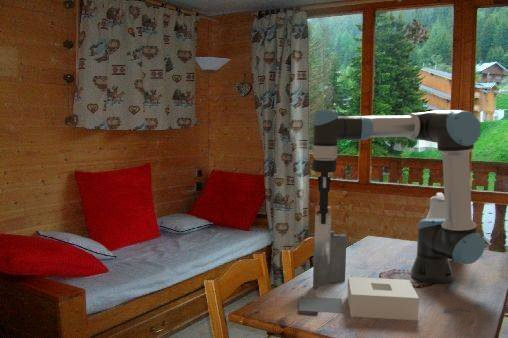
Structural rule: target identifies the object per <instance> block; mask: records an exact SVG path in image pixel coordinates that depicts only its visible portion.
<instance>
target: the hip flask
mask: <svg viewBox="0 0 508 338" xmlns="http://www.w3.org/2000/svg"><path fill="white" fill-rule="evenodd" d="M314 245H315V239H314V240H313V246H314ZM346 260H347V235H346V233H345V234H344V233H341V234H336V233H335V230H331V235H330V263H329V264H325V265H321V264H316V263H314V262H313V267H312V268H313V269H312V270H313V271H312V274H313V275H312V276H313V277H312V288H314V289H315V290H318V288H319V287H322V286H324V285H326V284H327V285H328V284H329V285H331V284H337V283H342V282H345V281H346V266H347V265H346V263H347V261H346Z"/></svg>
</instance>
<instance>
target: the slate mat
mask: <svg viewBox="0 0 508 338" xmlns="http://www.w3.org/2000/svg"><path fill="white" fill-rule="evenodd" d="M298 303H299V304H298V314H302V315H317V316H318V315H319V313H329V314H330V313H333V314H335V313H336V314H345V313H344V312H345V311H344V306H343V305H344V304H343V299H342V297H341V298H338V297H337V298H336V297H335V298H334V297H320V296H303V295H302V296H301V295H300V296H299V302H298Z"/></svg>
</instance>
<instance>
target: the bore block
mask: <svg viewBox="0 0 508 338" xmlns="http://www.w3.org/2000/svg"><path fill="white" fill-rule="evenodd" d="M346 295H347V303H348V308H349V313H350V317H353V318H354V317H357V318H372V319H385V320H387V319H388V320H400V321H401V320H403V321H404V320H405V321H419V309H420V308H419V306H420V297H419V296H418V293H417V292H416V290H415V288H414V287H413V284H412V283H411V281H410V279H400V278H398V279H397V278H396V279H395V278H381V277H378V278H375V277H362V276H361V277H359V276H347V294H346Z"/></svg>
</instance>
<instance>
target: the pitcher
mask: <svg viewBox="0 0 508 338" xmlns="http://www.w3.org/2000/svg"><path fill="white" fill-rule="evenodd" d="M429 205H430V206H429V210H428V213H427V215H426V218H425V219H428V218H442V219H446V217H445V197H444V193H443V192H436V194H435V195H433V196H432V197H430V199H429ZM451 261H453V260H452V259H449V262H451Z"/></svg>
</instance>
